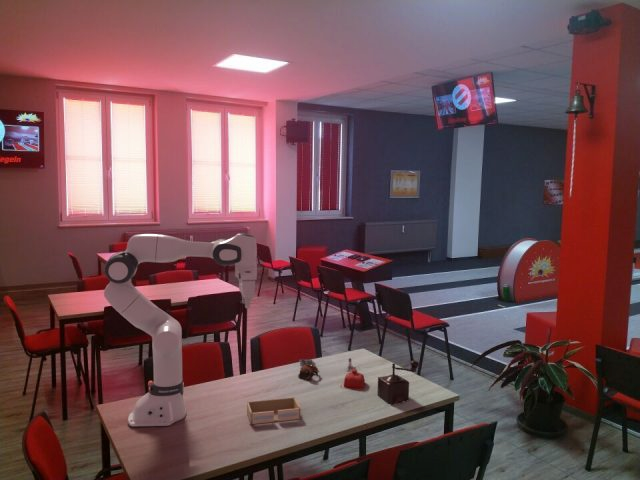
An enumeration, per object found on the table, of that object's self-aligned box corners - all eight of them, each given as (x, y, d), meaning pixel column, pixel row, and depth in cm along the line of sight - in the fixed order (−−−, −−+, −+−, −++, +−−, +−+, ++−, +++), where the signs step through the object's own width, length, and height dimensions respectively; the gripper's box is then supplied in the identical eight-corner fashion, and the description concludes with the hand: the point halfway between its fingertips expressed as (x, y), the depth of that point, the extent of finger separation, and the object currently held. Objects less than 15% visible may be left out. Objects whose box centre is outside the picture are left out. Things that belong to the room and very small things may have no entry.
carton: (250, 424, 194) (250, 412, 194) (246, 413, 204) (246, 401, 203) (299, 419, 200) (300, 407, 199) (294, 408, 209) (294, 397, 209)
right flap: (278, 421, 196) (278, 411, 195) (277, 420, 196) (277, 410, 196) (300, 418, 198) (300, 408, 198) (300, 418, 199) (300, 408, 199)
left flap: (250, 424, 193) (250, 413, 192) (250, 423, 194) (250, 413, 193) (274, 421, 195) (274, 411, 195) (273, 421, 196) (273, 410, 196)
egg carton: (316, 371, 251) (316, 364, 251) (302, 373, 250) (301, 365, 250) (313, 364, 262) (313, 356, 261) (299, 365, 261) (298, 358, 260)
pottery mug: (294, 377, 246) (300, 361, 248) (310, 384, 248) (316, 368, 250) (301, 380, 235) (308, 363, 237) (318, 387, 237) (325, 371, 239)
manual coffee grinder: (389, 406, 213) (390, 366, 211) (376, 397, 223) (377, 358, 221) (419, 401, 219) (421, 361, 217) (406, 392, 229) (407, 354, 227)
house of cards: (361, 377, 247) (362, 362, 247) (344, 376, 249) (344, 361, 248) (363, 371, 256) (363, 356, 256) (346, 370, 258) (346, 355, 257)
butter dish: (338, 390, 231) (339, 372, 230) (345, 381, 242) (345, 364, 241) (363, 393, 227) (363, 375, 227) (368, 384, 238) (368, 367, 237)
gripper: (235, 269, 213) (235, 300, 215) (241, 276, 194) (241, 311, 195) (250, 268, 215) (250, 300, 216) (257, 276, 195) (257, 310, 197)
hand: (246, 305), depth 205 cm, fingers open, 8 cm apart
